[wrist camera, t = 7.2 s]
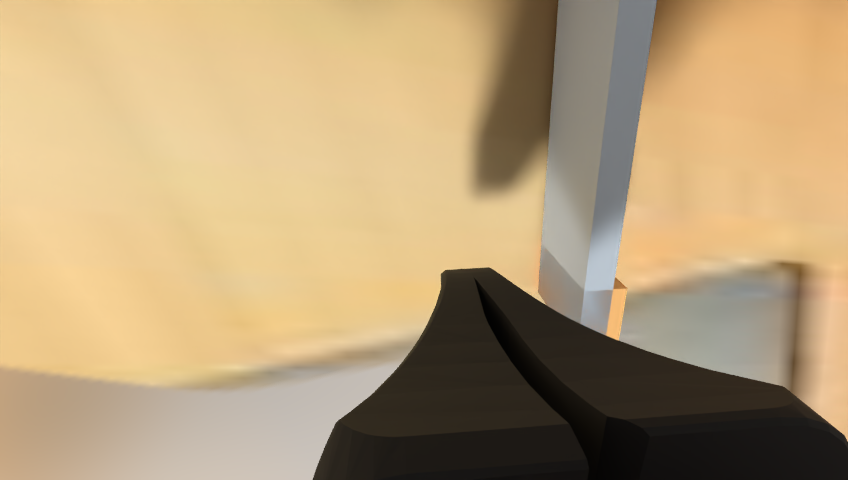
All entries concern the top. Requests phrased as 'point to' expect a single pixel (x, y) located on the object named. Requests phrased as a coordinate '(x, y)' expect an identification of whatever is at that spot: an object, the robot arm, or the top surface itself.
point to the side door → (592, 155)
